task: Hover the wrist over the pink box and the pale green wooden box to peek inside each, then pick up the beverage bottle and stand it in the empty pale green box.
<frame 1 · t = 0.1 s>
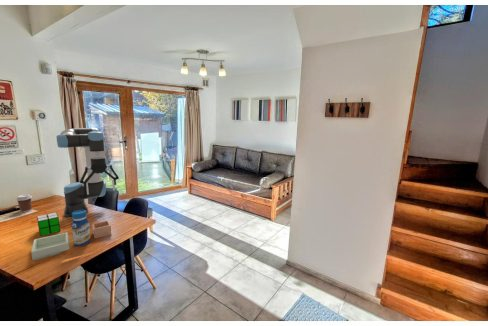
hand: (101, 192, 142), 28 cm above the table, fingers open, 13 cm apart
green box: (52, 249, 129), on the table
pink box: (102, 234, 146), on the table
coffee cup: (26, 210, 181), on the table
beverage bottle: (82, 244, 135), on the table
puzzle cube: (49, 231, 150), on the table
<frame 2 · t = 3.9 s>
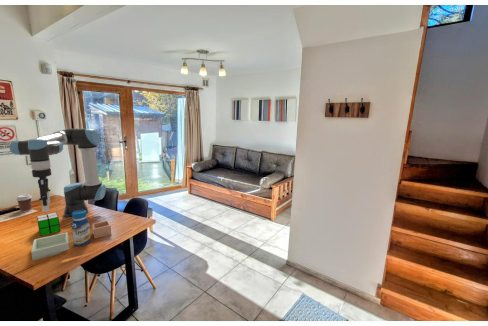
hand: (46, 207, 125), 25 cm above the table, fingers open, 13 cm apart
nothing on the table moved.
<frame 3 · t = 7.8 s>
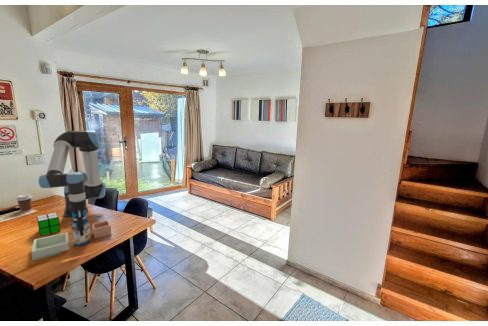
hand: (82, 237, 134), 4 cm above the table, fingers closed on beverage bottle, 7 cm apart
beverage bottle: (82, 244, 135), on the table, touching gripper
everything else where it was.
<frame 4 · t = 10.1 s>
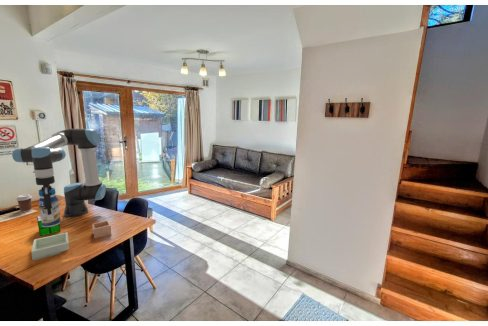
hand: (50, 217, 126), 19 cm above the table, fingers closed on beverage bottle, 7 cm apart
beverage bottle: (51, 224, 127), point 15 cm above the table, touching gripper
everything else where it was.
when the fingers open (7 cm above the table, at t = 12.9 s): beverage bottle moves 2 cm, resting on green box, hand.
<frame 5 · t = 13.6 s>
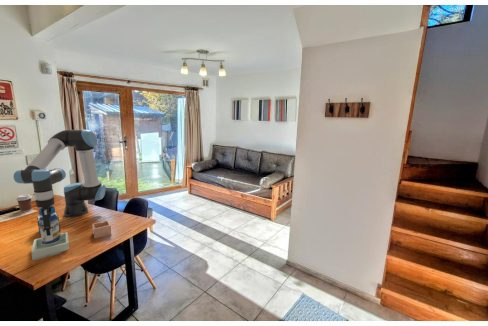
hand: (50, 235, 128), 8 cm above the table, fingers open, 12 cm apart
beverage bottle: (51, 241, 131), point 3 cm above the table, touching green box, gripper, hand
everything else where it was.
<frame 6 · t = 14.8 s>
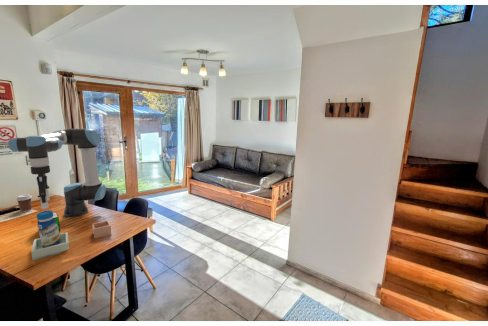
hand: (45, 204, 125), 26 cm above the table, fingers open, 13 cm apart
beverage bottle: (52, 245, 131), point 1 cm above the table, touching green box
everything else where it was.
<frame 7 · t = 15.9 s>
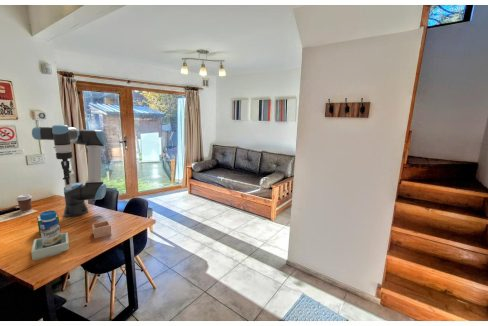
hand: (68, 186, 140), 31 cm above the table, fingers open, 13 cm apart
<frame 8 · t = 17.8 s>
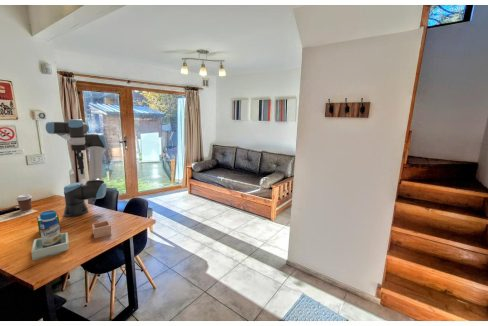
hand: (81, 176, 151), 35 cm above the table, fingers open, 13 cm apart
nothing on the table moved.
at the end: beverage bottle inside the target area on the green box (2.2 cm from its centre), point 0.8 cm above the green box's base; beverage bottle tilted 1°; the gripper is holding nothing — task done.
